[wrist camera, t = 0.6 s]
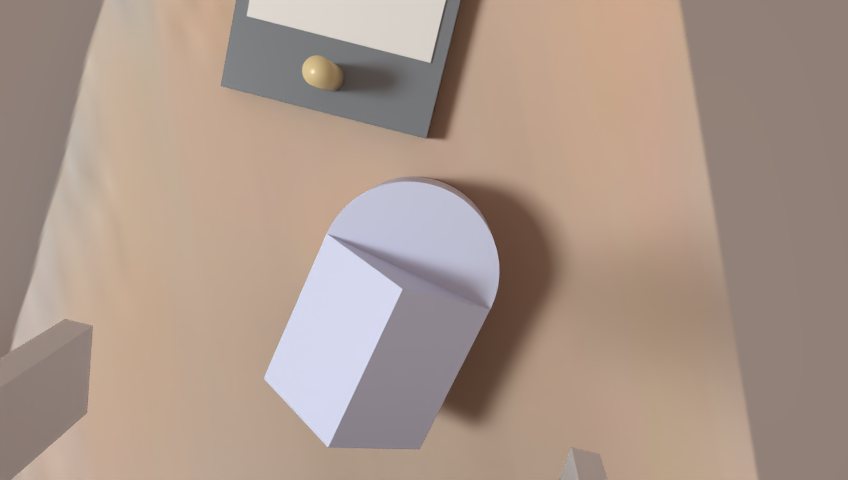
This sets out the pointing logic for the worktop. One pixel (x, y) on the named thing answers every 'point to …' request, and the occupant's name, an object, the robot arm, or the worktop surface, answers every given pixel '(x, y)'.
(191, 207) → the worktop surface
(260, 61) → the pin plate
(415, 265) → the wedge on round base
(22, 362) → the robot arm
